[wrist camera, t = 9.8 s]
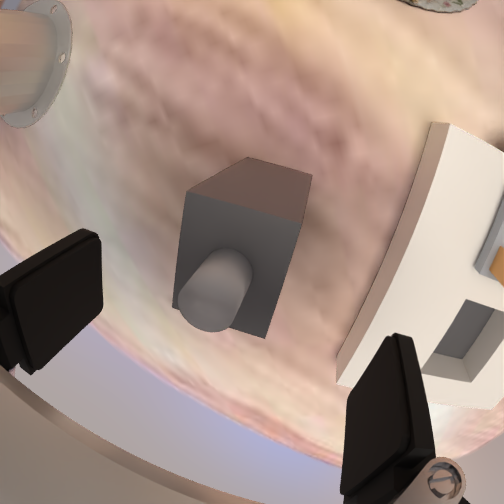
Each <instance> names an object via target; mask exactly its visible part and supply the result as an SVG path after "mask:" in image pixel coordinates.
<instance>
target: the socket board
mask: <svg viewBox="0 0 504 504" xmlns="http://www.w3.org/2000/svg"><path fill="white" fill-rule="evenodd" d="M503 198H504V152H502V151H500V150H499V149H497V148H495V147H494V146H492V145H490V144H488V143H487V142H485V141H483V140H481V139H479V138H477V137H476V136H474V135H472V134H470V133H468V132H466V131H464V130H462V129H460V128H458V127H456V126H454V125H452V124H449V123H438V122H432V123H431V127H430V131H429V134H428V138H427V141H426V144H425V148H424V151H423V154H422V158H421V161H420V164H419V167H418V170H417V173H416V176H415V179H414V182H413V185H412V188H411V191H410V194H409V197H408V199H407V202H406V205H405V208H404V210H403V213H402V216H401V218H400V221H399V223H398V226H397V229H396V231H395V234H394V236H393V239H392V241H391V244H390V246H389V248H388V251H387V253H386V255H385V258H384V260H383V263H382V265H381V267H380V269H379V272H378V274H377V276H376V278H375V281H374V283H373V285H372V287H371V289H370V291H369V294H368V296H367V298H366V300H365V302H364V304H363V306H362V308H361V310H360V312H359V314H358V316H357V318H356V320H355V322H354V324H353V326H352V328H351V330H350V332H349V334H348V336H347V338H346V340H345V342H344V344H343V346H342V347H341V349H340V351H339V353H338V355H337V362H336V384H337V385H341V386H345V387H350V388H354V386H355V385H356V383H357V382H358V380H359V379H360V377H361V376H362V374H363V373H364V371H365V370H366V368H367V366H368V365H369V363H370V362H371V360H372V358H373V357H374V355H375V353H376V352H377V350H378V348H379V347H380V345H381V343H382V342H383V340H384V338H385V337H386V336H391V335H392V334H393V333H399V334H402V335H406V336H410V337H412V339H413V341H414V345H415V349H416V353H417V357H418V361H419V365H420V370H421V374H422V379H423V383H424V388H425V393H426V398H427V402H429V403H436V404H443V405H450V406H458V407H467V408H476V409H487V410H492V409H493V408H494V407H495V406H496V405H497V404H498V402H499V401H500V400H501V399H502V398H503V397H504V287H503V286H502V285H501V283H500V282H498V281H495V280H493V279H490V278H488V277H485V276H483V275H480V274H479V273H478V272H477V271H476V269H475V268H474V267H475V265H476V263H477V261H478V259H479V256H480V254H481V252H482V250H483V248H484V246H485V243H486V241H487V239H488V236H489V234H490V232H491V229H492V227H493V224H494V222H495V219H496V217H497V214H498V212H499V209H500V207H501V204H502V201H503Z"/></svg>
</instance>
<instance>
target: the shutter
mask: <svg viewBox="0 0 504 504" xmlns="http://www.w3.org/2000/svg"><path fill="white" fill-rule="evenodd" d="M474 268H475V269H476V271H477V272H478V273H479V274H480V275H483V276H485V277H488V278H490V279H493V280H495V281H498V282H500V283H501V285H502V286H503V287H504V198H503V201H502V204H501V207H500V209H499V212H498V214H497V217H496V219H495V222H494V224H493V227H492V229H491V232H490V234H489V236H488V239H487V241H486V243H485V246H484V248H483V250H482V252H481V254H480V256H479V259H478V261H477V263H476V265H475V267H474Z"/></svg>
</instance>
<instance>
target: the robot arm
mask: <svg viewBox="0 0 504 504" xmlns="http://www.w3.org/2000/svg"><path fill="white" fill-rule="evenodd" d="M56 5H57V9H56V11H55V12H54V13H52V10H53V8H54V7H55V6H56ZM72 36H73V32H72V22H71V19H70V15H69V12H68V11H67V9H66V7H65V6H64V5H63V4H62V3H61V2H59V1H57V0H39V1H36V2H35V3H33V4H31V5H30V6H28V7H27V8H26V9H25V10H23V11H17V10H8V9H0V116H1V117H2V119H3V120H4V121H5V122H6V123H7V124H8V125H10V126H11V127H15V128H26V127H28V126H31V125H33V124H34V123H36V122H37V121H38V120H40V119H41V118H42V116H43V115H44V114H45V113H46V112H47V111H48V109H49V108H50V106H51V105H52V103H53V102H54V100H55V98H56V96H57V94H58V92H59V90H60V88H61V86H62V83H63V81H64V78H65V75H66V72H67V68H68V65H69V61H70V56H71V50H72ZM63 53H65V60H64V61H63V62H62V63H61V61H60V58H61V55H62V54H63ZM35 108H36V109H37V116H36V117H34V110H35ZM4 114H5V116H4ZM102 308H103V289H102V250H101V240H100V239H99V236H98V234H97V233H95V232H92V231H89V230H87V229H83V228H82V229H79V230H78V231H76V232H74V233H72V234H70V235H68V236H66V237H65V238H63V239H61V240H59V241H57V242H56V243H54V244H52V245H50V246H48V247H47V248H45V249H43V250H41V251H40V252H38V253H36V254H35V255H33V256H31V257H29V258H28V259H26V260H24V261H23V262H21V263H19V264H18V265H16V266H15V267H13V268H11V269H10V270H8V271H7V272H5V273H3V274H2V275H0V504H264V503H259V502H256V501H252V500H249V499H245V498H242V497H238V496H235V495H232V494H228V493H225V492H222V491H219V490H216V489H213V488H210V487H208V486H205V485H202V484H199V483H197V482H194V481H191V480H189V479H186V478H184V477H181V476H178V475H176V474H174V473H171V472H169V471H167V470H165V469H162V468H160V467H158V466H156V465H153V464H151V463H149V462H147V461H145V460H143V459H141V458H139V457H137V456H135V455H132V454H130V453H129V452H127V451H125V450H123V449H121V448H119V447H117V446H116V445H114V444H112V443H110V442H108V441H106V440H105V439H103V438H101V437H100V436H98V435H96V434H94V433H93V432H91V431H89V430H88V429H86V428H85V427H83V426H81V425H80V424H78V423H77V422H75V421H73V420H72V419H70V418H69V417H67V416H66V415H64V414H63V413H61V412H60V411H58V410H57V409H55V408H54V407H53V406H51V405H50V404H48V403H47V402H46V401H44V400H43V399H42V398H40V397H39V396H38V395H36V394H35V393H34V392H32V391H31V390H30V389H28V388H27V387H26V386H25V385H23V384H22V383H21V382H20V381H18V380H17V379H16V378H15V377H14V375H15V366H16V365H17V364H18V363H19V364H20V367H21V368H22V369H23V370H25V371H26V372H27V373H28V374H30V375H32V374H33V373H34V372H35V371H36V370H40V369H42V368H43V367H44V366H45V365H46V364H47V363H48V362H49V361H50V360H51V359H52V358H53V357H54V356H55V355H56V354H57V353H58V352H59V351H60V350H61V349H62V348H63V347H64V346H65V345H66V344H68V343H69V342H70V341H71V340H72V339H73V338H74V337H75V336H76V335H77V334H78V333H79V332H80V331H81V330H82V329H83V328H84V327H86V326H87V325H88V324H89V323H90V322H91V321H92V320H93V319H94V318H95V317H96V316H98V315H99V314H100V312H101V311H102ZM465 489H466V479H465V474H464V472H463V471H462V469H461V467H460V466H459V465H458V464H457V463H456V462H454V461H453V460H451V459H449V458H446V457H437V458H436V454H435V445H434V438H433V431H432V425H431V419H430V414H429V408H428V403H427V398H426V393H425V388H424V383H423V379H422V374H421V370H420V365H419V361H418V357H417V353H416V349H415V345H414V341H413V339H412V337H410V336H406V335H402V334H399V333H393V334H392V335H391V336H386V337H385V338H384V340H383V342H382V343H381V345H380V347H379V348H378V350H377V352H376V353H375V355H374V357H373V358H372V360H371V362H370V363H369V365H368V366H367V368H366V370H365V371H364V373H363V374H362V376H361V377H360V379H359V380H358V382H357V383H356V385H355V386H354V388H353V389H352V391H351V392H350V394H349V396H348V399H347V407H346V425H345V440H344V453H343V464H342V475H341V484H340V493H341V494H342V495H344V501H343V504H470V503H469V502H468V501H467V500H466V499H465V498H464V497H463V494H464V492H465Z"/></svg>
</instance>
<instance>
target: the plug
mask: <svg viewBox="0 0 504 504" xmlns="http://www.w3.org/2000/svg"><path fill="white" fill-rule="evenodd" d="M311 180H312V175H311V174H307V173H304V172H300V171H297V170H294V169H290V168H286V167H283V166H279V165H276V164H272V163H268V162H264V161H261V160H257V159H253V158H249V157H247V158H245V159H243V160H242V161H240V162H238V163H236V164H234V165H232V166H230V167H228V168H227V169H225V170H223V171H221V172H219V173H217V174H216V175H214V176H212V177H210V178H209V179H207V180H205V181H203V182H201V183H200V184H198V185H196V186H194V187H193V188H191V189H189V190H187V191H186V197H185V204H184V211H183V218H182V225H181V232H180V240H179V248H178V256H177V265H176V273H175V283H174V292H173V303H172V308H175V309H178V310H180V312H181V314H182V315H183V317H184V318H185V319H186V320H187V321H188V322H189V323H190V324H191V325H193V326H194V327H196V328H198V329H200V330H203V331H207V332H220V331H223V330H225V329H227V328H228V327H229V328H232V329H235V330H238V331H242V332H245V333H248V334H251V335H254V336H257V337H261V338H264V339H265V337H266V334H267V331H268V328H269V325H270V322H271V319H272V316H273V313H274V310H275V307H276V304H277V301H278V298H279V295H280V292H281V289H282V286H283V283H284V280H285V277H286V273H287V270H288V267H289V264H290V261H291V258H292V254H293V251H294V248H295V245H296V242H297V238H298V235H299V232H300V229H301V225H302V221H303V217H304V212H305V208H306V203H307V199H308V194H309V189H310V184H311Z"/></svg>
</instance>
